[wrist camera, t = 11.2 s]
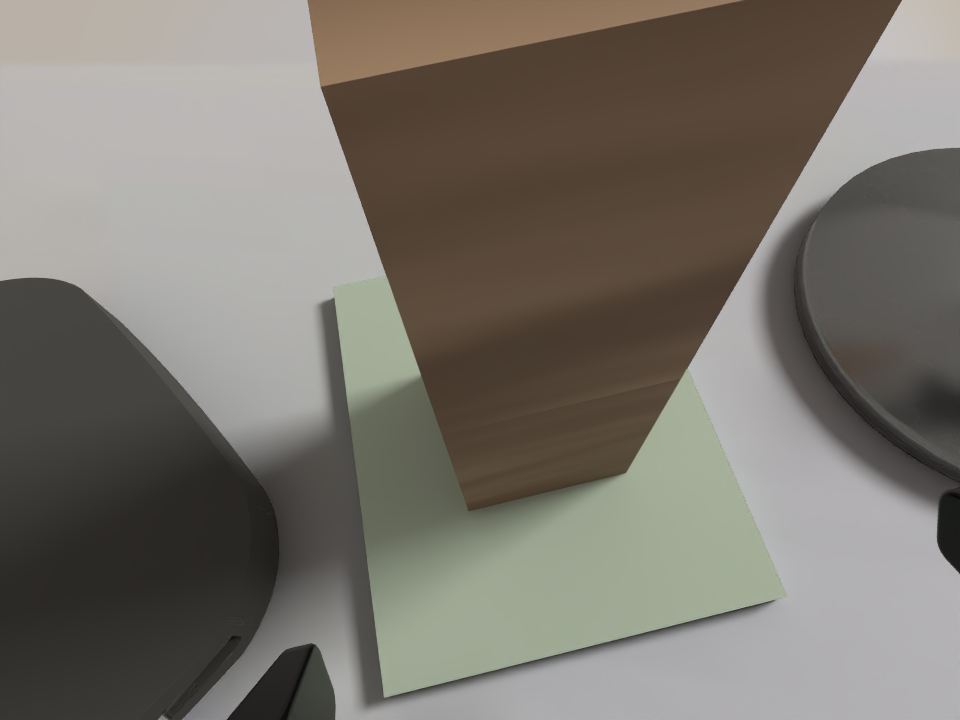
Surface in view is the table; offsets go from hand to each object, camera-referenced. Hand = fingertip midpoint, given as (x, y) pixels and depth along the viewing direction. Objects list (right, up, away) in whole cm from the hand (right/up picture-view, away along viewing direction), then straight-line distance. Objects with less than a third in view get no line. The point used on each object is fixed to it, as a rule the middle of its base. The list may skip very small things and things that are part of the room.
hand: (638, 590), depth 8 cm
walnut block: (-1, +2, +8) cm, 9 cm away
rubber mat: (-1, +1, +9) cm, 9 cm away
